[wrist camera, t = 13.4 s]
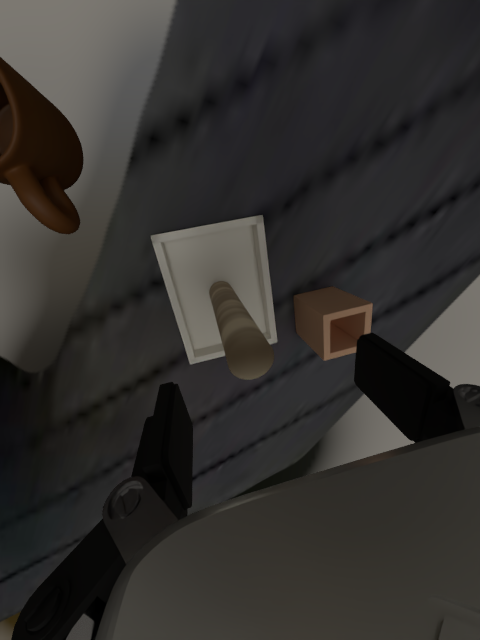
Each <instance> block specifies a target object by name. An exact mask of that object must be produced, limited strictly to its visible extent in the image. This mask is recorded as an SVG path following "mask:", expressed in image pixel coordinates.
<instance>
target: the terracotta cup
mask: <svg viewBox="0 0 480 640" xmlns="http://www.w3.org/2000/svg"><path fill="white" fill-rule="evenodd" d="M293 297H294V310H295V324H296V333H297V334H298V335H299V336H300V337H301V338H302V339H303V340H304V341H305V342H306V343H307V344H308V345H309V346H310V347H311V348H312V349H313V350H314V351H315V352H316V353H317V354H318V355H319V356H320V357H321V358H322V359H323V360H324V361H325V360H329V359H332V358H336V357H340V356H343V355H347V354H351V353H355V352H356V346H357V340H358V339H359V337H360V336H361V335H364V334H368V333H370V331H371V318H372V305H373V303H371V302H368V301H366V300H363V299H361V298H359V297H356V296H354V295H352V294H349V293H347V292H345V291H342V290H340V289H337V288H335V287H333V286H332V287H327V288H323V289H319V290H314V291H310V292H306V293H302V294H297V295H293Z"/></svg>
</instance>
